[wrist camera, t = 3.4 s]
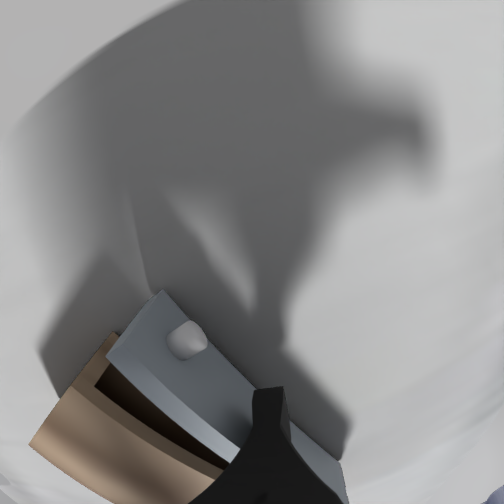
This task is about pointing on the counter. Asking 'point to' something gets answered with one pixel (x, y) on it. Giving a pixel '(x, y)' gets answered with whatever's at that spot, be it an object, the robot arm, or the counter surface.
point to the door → (200, 385)
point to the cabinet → (123, 441)
